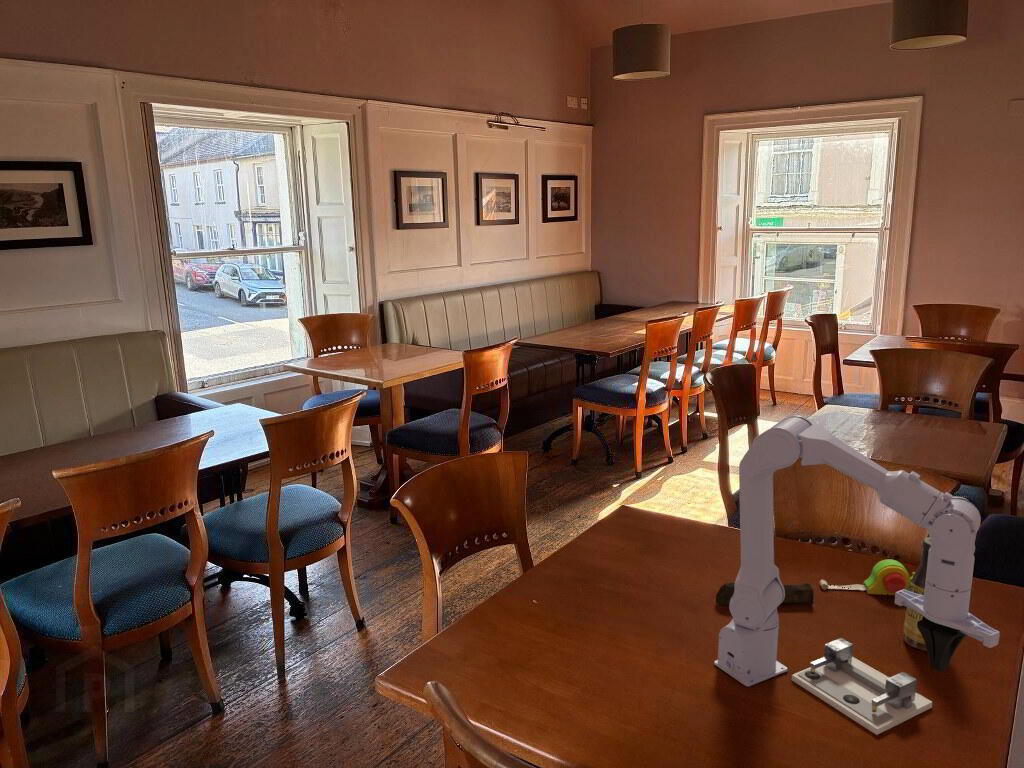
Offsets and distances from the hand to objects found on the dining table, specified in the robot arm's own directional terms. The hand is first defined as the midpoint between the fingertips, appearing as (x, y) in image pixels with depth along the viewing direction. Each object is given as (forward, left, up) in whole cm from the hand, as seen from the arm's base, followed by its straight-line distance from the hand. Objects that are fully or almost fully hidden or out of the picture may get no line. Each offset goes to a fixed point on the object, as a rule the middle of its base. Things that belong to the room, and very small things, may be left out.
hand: (938, 668), depth 115 cm
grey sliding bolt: (-2, +6, -9) cm, 11 cm away
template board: (-2, +11, -10) cm, 15 cm away
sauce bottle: (+20, +15, -10) cm, 27 cm away
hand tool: (+7, +40, -10) cm, 42 cm away
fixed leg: (-2, +17, -9) cm, 19 cm away
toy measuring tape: (+30, +33, -10) cm, 46 cm away
